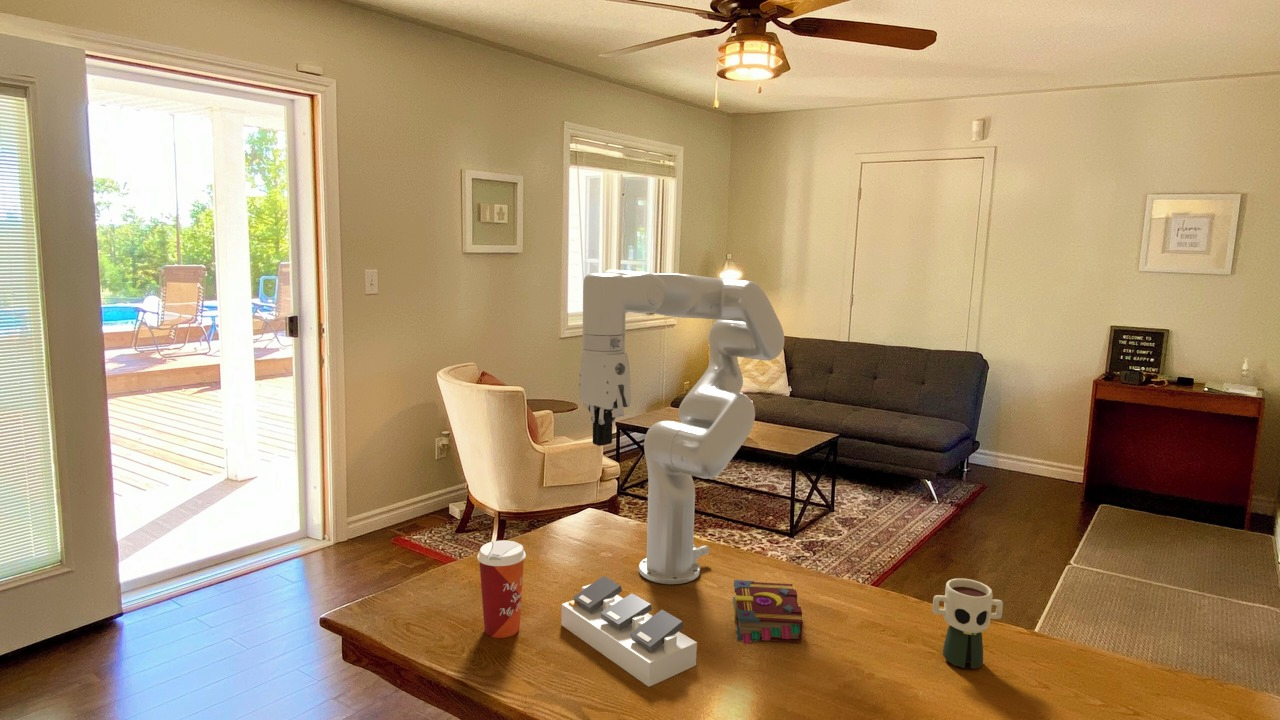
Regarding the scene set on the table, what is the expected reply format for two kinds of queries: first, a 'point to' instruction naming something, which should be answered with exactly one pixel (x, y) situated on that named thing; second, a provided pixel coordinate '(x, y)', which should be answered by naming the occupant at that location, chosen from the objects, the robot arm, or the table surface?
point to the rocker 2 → (656, 630)
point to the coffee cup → (501, 586)
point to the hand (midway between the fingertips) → (602, 443)
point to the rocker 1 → (597, 594)
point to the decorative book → (766, 612)
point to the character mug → (966, 619)
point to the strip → (630, 643)
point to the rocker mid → (625, 611)
